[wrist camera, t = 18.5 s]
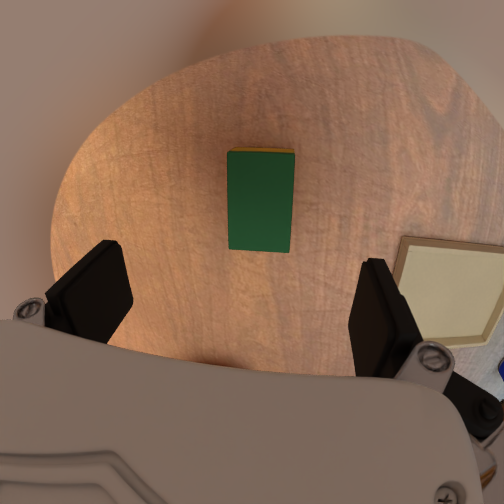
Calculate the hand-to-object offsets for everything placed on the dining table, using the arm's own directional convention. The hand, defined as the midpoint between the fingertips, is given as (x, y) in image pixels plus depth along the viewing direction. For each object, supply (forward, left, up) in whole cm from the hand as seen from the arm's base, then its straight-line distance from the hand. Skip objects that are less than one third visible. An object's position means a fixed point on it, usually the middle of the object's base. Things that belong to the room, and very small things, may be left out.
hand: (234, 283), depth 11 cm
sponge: (+1, 0, -16) cm, 16 cm away
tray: (+11, +22, -16) cm, 29 cm away
